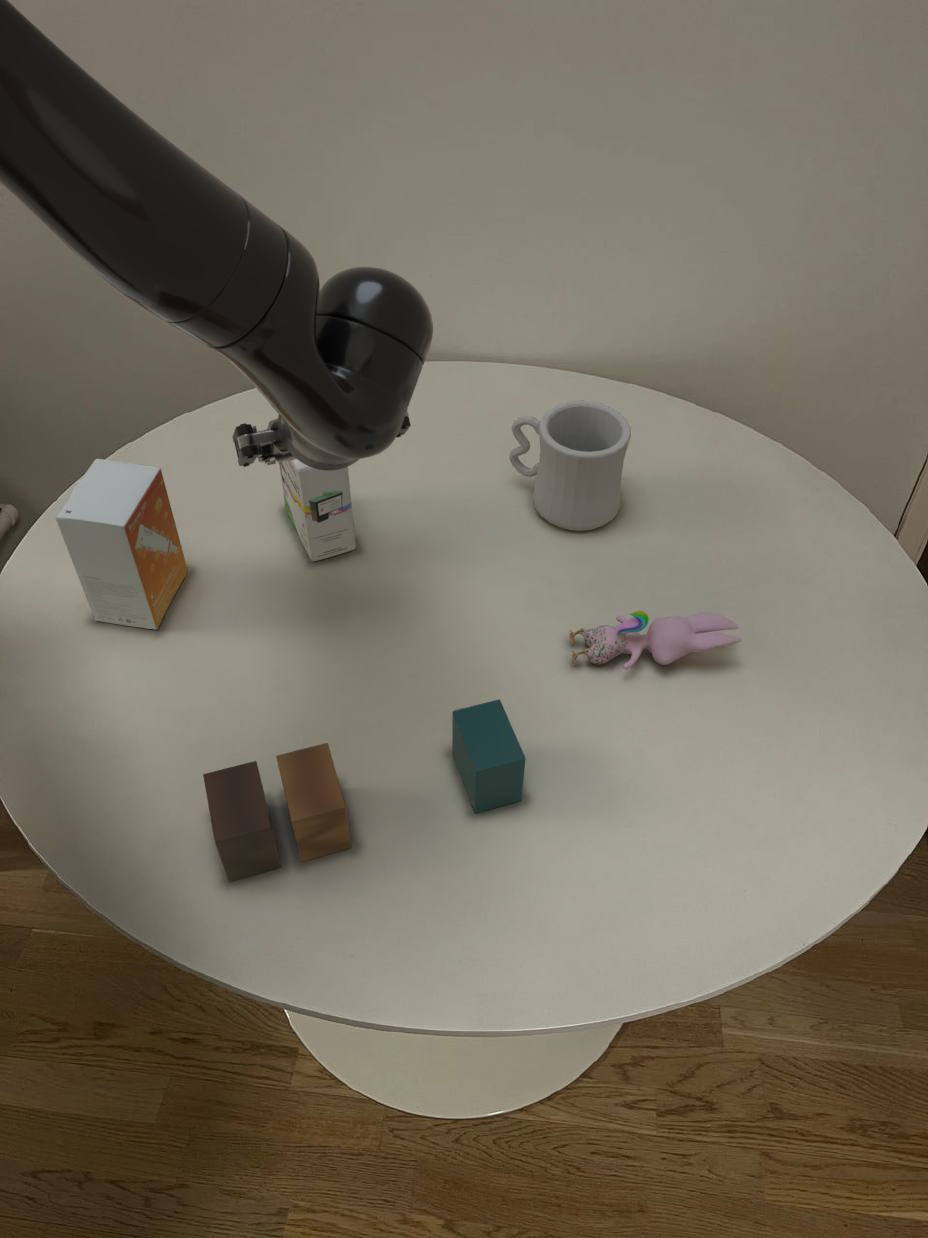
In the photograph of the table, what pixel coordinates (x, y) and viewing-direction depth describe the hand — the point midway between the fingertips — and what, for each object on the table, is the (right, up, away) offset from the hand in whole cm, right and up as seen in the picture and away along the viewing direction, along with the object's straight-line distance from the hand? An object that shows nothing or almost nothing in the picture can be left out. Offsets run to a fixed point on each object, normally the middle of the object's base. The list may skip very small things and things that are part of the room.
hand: (315, 443), depth 90 cm
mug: (+23, -3, +16) cm, 28 cm away
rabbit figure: (+30, -19, +2) cm, 36 cm away
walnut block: (-3, -33, -12) cm, 35 cm away
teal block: (+15, -29, -8) cm, 33 cm away
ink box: (-1, -7, +12) cm, 14 cm away
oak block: (+2, -32, -11) cm, 33 cm away
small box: (-17, -14, +6) cm, 23 cm away
